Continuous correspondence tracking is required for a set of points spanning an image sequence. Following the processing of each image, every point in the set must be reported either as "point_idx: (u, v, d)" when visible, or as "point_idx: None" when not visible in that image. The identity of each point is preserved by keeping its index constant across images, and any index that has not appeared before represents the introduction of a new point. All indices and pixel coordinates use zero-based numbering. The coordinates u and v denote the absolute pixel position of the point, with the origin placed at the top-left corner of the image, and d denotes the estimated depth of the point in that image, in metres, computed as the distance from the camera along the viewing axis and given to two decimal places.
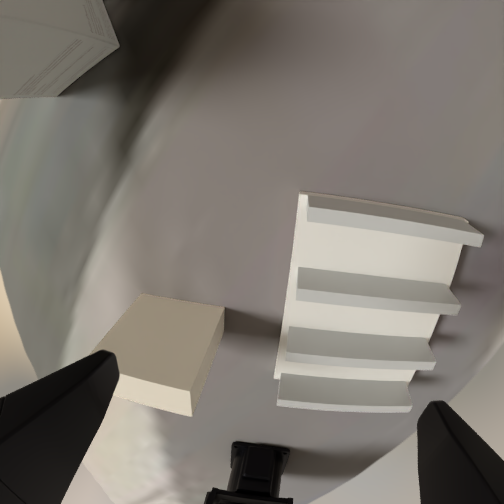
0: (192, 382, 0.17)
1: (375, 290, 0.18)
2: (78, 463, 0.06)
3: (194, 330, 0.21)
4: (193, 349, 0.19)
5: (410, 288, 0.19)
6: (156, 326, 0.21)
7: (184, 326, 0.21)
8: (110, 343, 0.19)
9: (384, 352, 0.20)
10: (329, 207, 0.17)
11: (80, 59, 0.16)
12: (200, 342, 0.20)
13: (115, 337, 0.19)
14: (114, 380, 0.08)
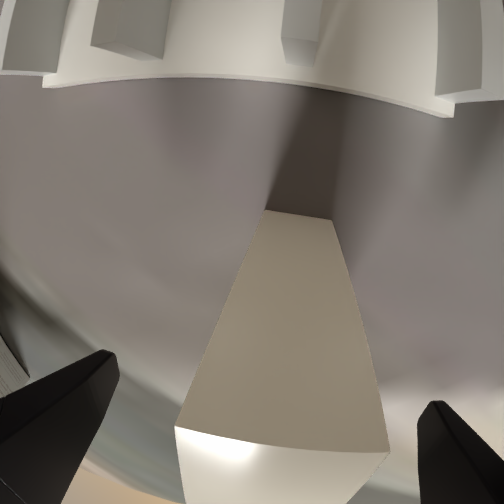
0: (193, 385, 0.04)
1: None
2: (78, 463, 0.06)
3: None
4: None
5: None
6: None
7: None
8: None
9: None
10: None
11: None
12: None
13: None
14: (114, 380, 0.08)
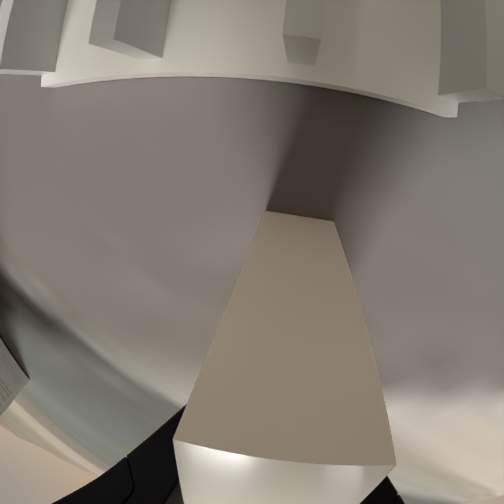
0: (192, 396, 0.03)
1: None
2: None
3: None
4: None
5: None
6: None
7: None
8: None
9: None
10: None
11: None
12: None
13: None
14: None
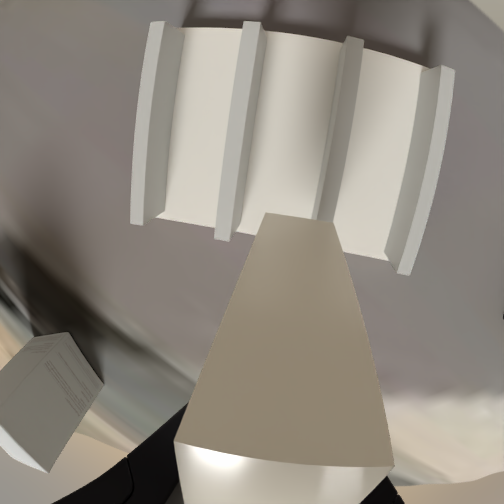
0: (192, 398, 0.03)
1: None
2: None
3: None
4: None
5: None
6: None
7: None
8: None
9: (334, 115, 0.14)
10: None
11: (68, 362, 0.25)
12: None
13: None
14: None
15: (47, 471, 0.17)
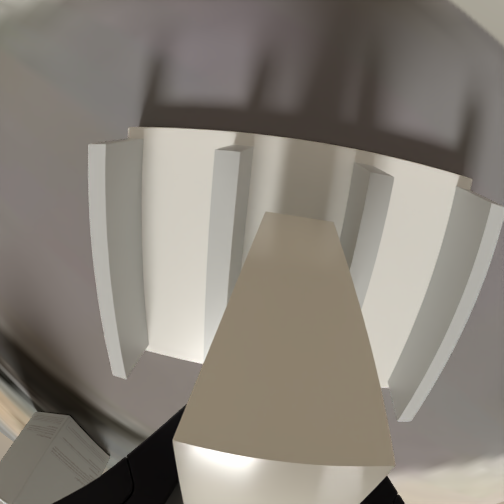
0: (192, 397, 0.03)
1: None
2: None
3: None
4: None
5: None
6: None
7: None
8: None
9: None
10: None
11: (73, 445, 0.22)
12: None
13: None
14: None
15: None
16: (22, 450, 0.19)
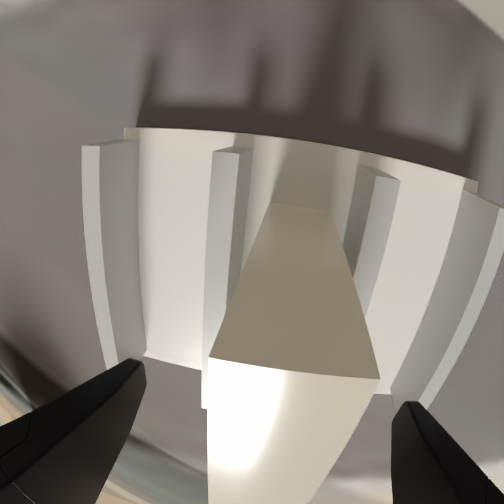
0: (220, 330, 0.05)
1: None
2: (106, 476, 0.06)
3: None
4: None
5: None
6: None
7: None
8: None
9: None
10: None
11: None
12: None
13: None
14: (141, 389, 0.08)
15: None
16: None
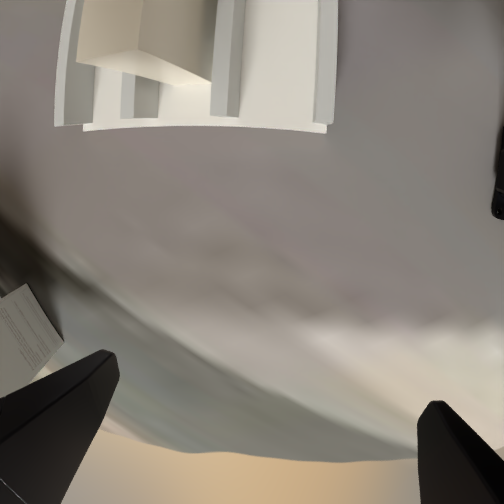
0: None
1: None
2: (78, 463, 0.06)
3: None
4: None
5: None
6: None
7: None
8: None
9: None
10: None
11: (24, 313, 0.23)
12: None
13: None
14: (114, 380, 0.08)
15: None
16: None
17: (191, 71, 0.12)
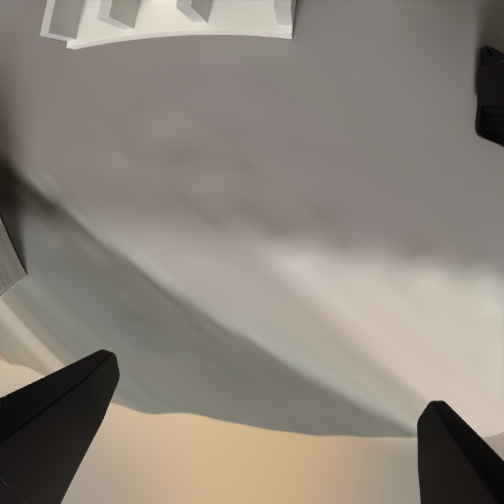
0: None
1: None
2: (78, 463, 0.06)
3: None
4: None
5: None
6: None
7: None
8: None
9: None
10: None
11: None
12: None
13: None
14: (114, 380, 0.08)
15: None
16: None
17: None
